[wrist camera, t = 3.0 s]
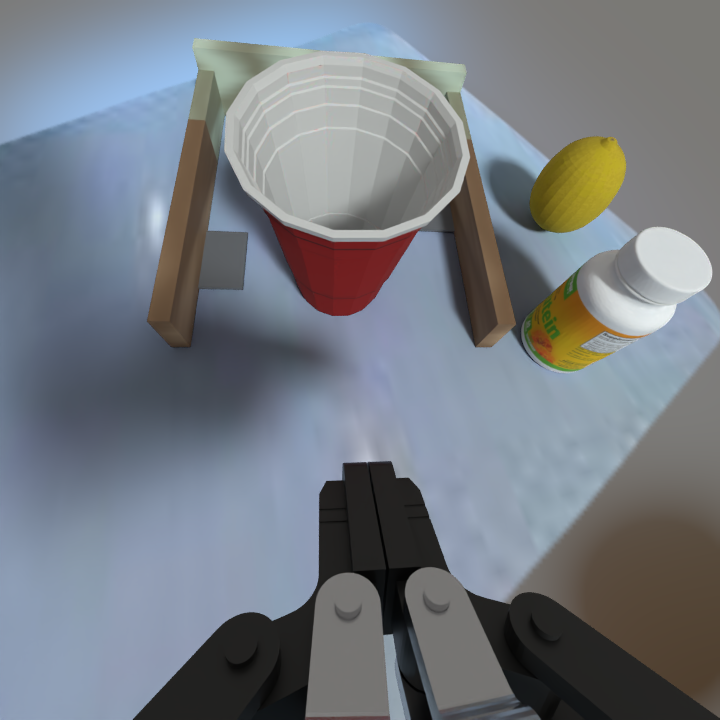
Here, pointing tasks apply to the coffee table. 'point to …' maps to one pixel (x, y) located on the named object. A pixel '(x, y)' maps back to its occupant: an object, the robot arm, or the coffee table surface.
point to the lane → (197, 178)
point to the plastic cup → (345, 167)
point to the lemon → (577, 184)
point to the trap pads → (229, 250)
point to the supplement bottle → (615, 300)
